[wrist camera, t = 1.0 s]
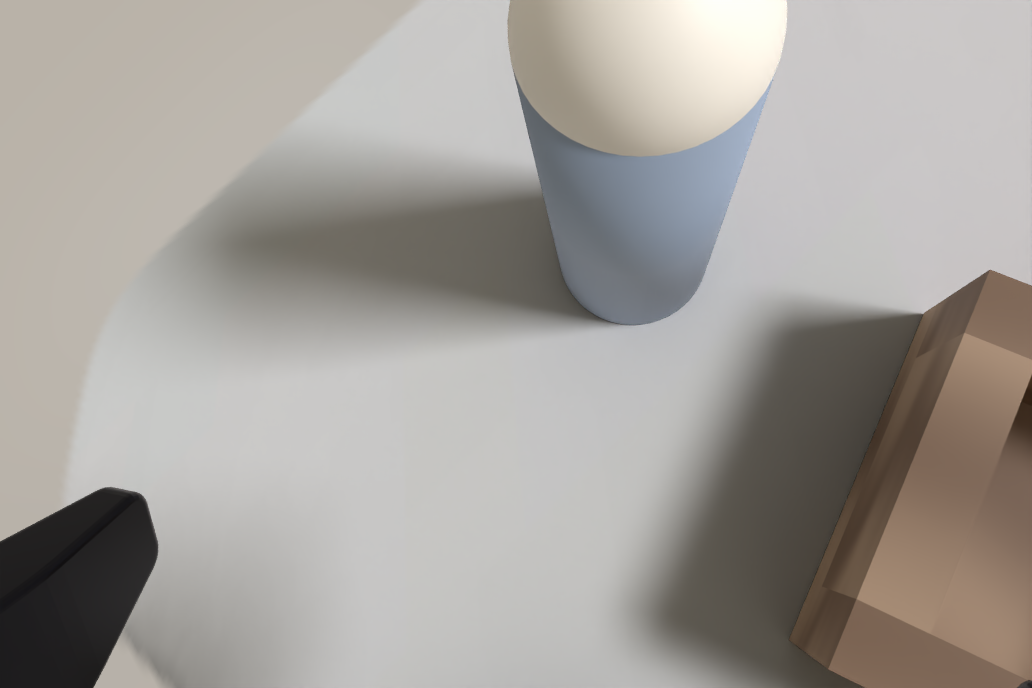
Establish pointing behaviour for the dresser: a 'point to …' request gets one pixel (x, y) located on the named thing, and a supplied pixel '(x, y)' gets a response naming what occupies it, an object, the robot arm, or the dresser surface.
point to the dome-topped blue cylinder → (641, 135)
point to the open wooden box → (939, 512)
